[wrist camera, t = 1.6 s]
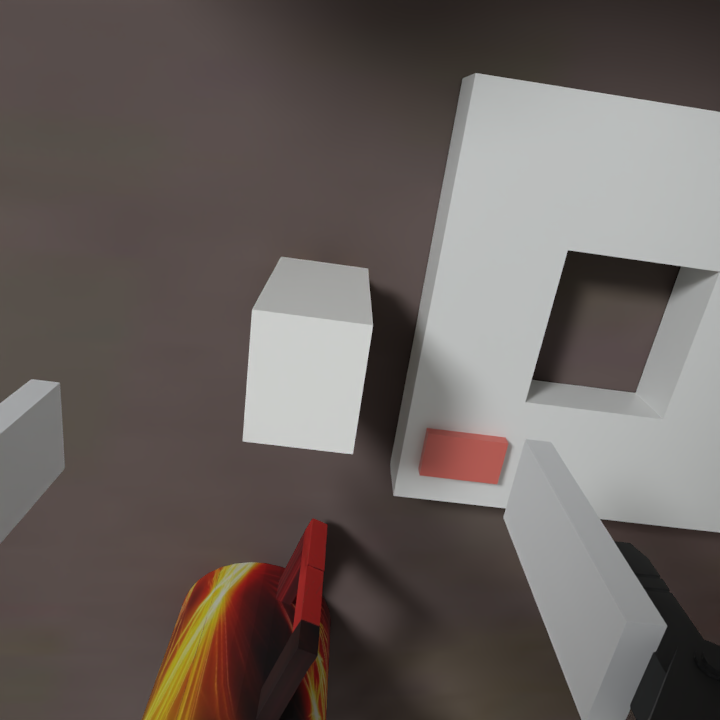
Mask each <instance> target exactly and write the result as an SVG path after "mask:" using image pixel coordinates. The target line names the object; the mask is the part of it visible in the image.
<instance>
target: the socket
mask: <svg viewBox="0 0 720 720" xmlns="http://www.w3.org/2000/svg"><path fill="white" fill-rule="evenodd" d="M568 250H570V251H577V252H584V253H591V254H598V255H605V256H612V257H620V258H627V259H634V260H641V261H648V262H655V263H662V264H669V265H676V266H681V268H680V271H679V273H678V276H677V279H676V282H675V284H674V287H673V290H672V293H671V296H670V298H669V301H668V304H667V307H666V310H665V312H664V315H663V318H662V321H661V324H660V326H659V329H658V332H657V335H656V338H655V340H654V343H653V346H652V349H651V351H650V354H649V357H648V360H647V363H646V365H645V368H644V371H643V374H642V377H641V379H640V382H639V385H638V388H637V391H636V393H632V392H624V391H616V390H608V389H600V388H592V387H585V386H577V385H569V384H561V383H553V382H545V381H537V380H532V377H533V373H534V370H535V366H536V362H537V359H538V355H539V352H540V348H541V345H542V341H543V337H544V334H545V330H546V327H547V323H548V320H549V316H550V312H551V309H552V305H553V302H554V298H555V294H556V291H557V287H558V284H559V280H560V277H561V273H562V269H563V266H564V262H565V259H566V255H567V251H568ZM525 439H529V440H537V441H546V442H551V443H552V444H553V446H554V447H555V449H556V451H557V452H558V454H559V455H560V457H561V458H562V460H563V462H564V463H565V465H566V466H567V468H568V470H569V471H570V473H571V474H572V476H573V477H574V479H575V481H576V482H577V484H578V485H579V487H580V489H581V490H582V492H583V493H584V495H585V496H586V498H587V500H588V501H589V503H590V504H591V506H592V507H593V509H594V511H595V512H596V514H597V515H598V517H599V519H604V520H613V521H622V522H631V523H640V524H649V525H658V526H666V527H675V528H684V529H693V530H702V531H711V532H720V112H716V111H710V110H704V109H698V108H691V107H685V106H679V105H673V104H666V103H660V102H654V101H648V100H641V99H635V98H629V97H623V96H616V95H610V94H604V93H597V92H591V91H585V90H579V89H572V88H566V87H560V86H554V85H547V84H541V83H535V82H529V81H522V80H516V79H510V78H504V77H497V76H491V75H485V74H479V73H475V74H472V75H470V76H467V77H465V78H463V79H462V84H461V89H460V95H459V100H458V105H457V111H456V116H455V121H454V127H453V132H452V137H451V143H450V148H449V153H448V158H447V164H446V169H445V174H444V180H443V185H442V190H441V196H440V201H439V206H438V212H437V217H436V222H435V228H434V233H433V238H432V244H431V249H430V254H429V260H428V265H427V270H426V276H425V281H424V286H423V291H422V297H421V302H420V307H419V313H418V318H417V323H416V329H415V334H414V339H413V345H412V350H411V355H410V361H409V366H408V371H407V377H406V382H405V387H404V393H403V398H402V403H401V409H400V414H399V419H398V424H397V430H396V435H395V440H394V446H393V451H392V456H391V462H390V469H391V478H392V488H393V496H400V497H409V498H418V499H427V500H436V501H445V502H454V503H462V504H471V505H480V506H489V507H498V508H506V506H507V503H508V499H509V496H510V492H511V488H512V485H513V481H514V478H515V474H516V471H517V467H518V464H519V460H520V456H521V453H522V449H523V446H524V442H525Z"/></svg>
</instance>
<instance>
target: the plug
mask: <svg viewBox="0 0 720 720" xmlns="http://www.w3.org/2000/svg"><path fill="white" fill-rule="evenodd" d="M372 329H373V318H372V307H371V296H370V285H369V274H368V269H367V268H360V267H353V266H345V265H338V264H331V263H323V262H316V261H309V260H301V259H294V258H287V257H281V258H280V260H279V261H278V263H277V265H276V267H275V269H274V271H273V272H272V274H271V276H270V278H269V280H268V282H267V283H266V285H265V287H264V289H263V291H262V293H261V294H260V296H259V298H258V300H257V302H256V303H255V305H254V307H253V309H252V319H251V333H250V347H249V361H248V374H247V388H246V402H245V416H244V429H243V441H244V442H253V443H261V444H270V445H278V446H287V447H295V448H304V449H313V450H321V451H330V452H338V453H347V454H353V450H354V443H355V437H356V431H357V424H358V418H359V412H360V405H361V399H362V393H363V386H364V380H365V374H366V367H367V361H368V355H369V348H370V342H371V336H372Z"/></svg>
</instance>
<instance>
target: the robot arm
mask: <svg viewBox="0 0 720 720" xmlns="http://www.w3.org/2000/svg"><path fill="white" fill-rule="evenodd" d="M64 469H65V462H64V445H63V427H62V409H61V392H60V383H58V382H50V381H41V380H33V379H31V380H30V381H29V382H27V383H26V384H25V385H23V386H22V387H21V388H19V389H18V390H17V391H16V392H14V393H13V394H12V395H10V396H9V397H8V398H6V399H5V400H4V401H3V402H1V403H0V544H1V542H2V541H3V540H4V539H5V538H6V536H7V535H8V534H9V533H10V532H11V531H12V529H13V528H14V527H15V526H16V525H17V524H18V522H19V521H20V520H21V519H22V518H23V517H24V515H25V514H26V513H27V512H28V511H29V510H30V508H31V507H32V506H33V505H34V504H35V503H36V501H37V500H38V499H39V498H40V497H41V496H42V494H43V493H44V492H45V491H46V490H47V489H48V487H49V486H50V485H51V484H52V483H53V482H54V480H55V479H56V478H57V477H58V476H59V475H60V473H61V472H62V471H63V470H64ZM503 518H504V521H505V523H506V526H507V528H508V531H509V533H510V536H511V539H512V541H513V544H514V546H515V549H516V552H517V554H518V557H519V559H520V562H521V565H522V567H523V570H524V572H525V575H526V578H527V580H528V583H529V585H530V588H531V591H532V593H533V596H534V598H535V601H536V603H537V606H538V609H539V611H540V614H541V616H542V619H543V622H544V624H545V627H546V629H547V632H548V635H549V637H550V640H551V642H552V645H553V648H554V650H555V653H556V655H557V658H558V661H559V663H560V666H561V668H562V671H563V673H564V676H565V679H566V681H567V684H568V686H569V689H570V692H571V694H572V697H573V699H574V702H575V705H576V707H577V710H578V712H579V715H580V718H581V720H626V718H627V716H628V713H629V711H630V709H631V710H632V712H633V714H634V716H635V718H636V720H720V646H718V645H716V644H714V643H711V642H709V641H706V640H704V639H703V638H702V636H701V635H700V633H699V632H698V630H697V629H696V628H695V626H694V625H693V623H692V622H691V620H690V619H689V617H688V616H687V614H686V613H685V612H684V610H683V609H682V607H681V606H680V604H679V603H678V601H677V600H676V598H675V597H674V596H673V594H672V593H670V592H669V588H668V587H667V585H666V584H665V582H664V581H663V580H662V579H660V575H659V574H658V572H657V571H656V569H655V568H654V566H653V565H652V564H651V562H650V561H649V559H648V558H647V557H646V556H644V555H643V554H642V553H641V552H640V551H639V550H637V549H636V548H635V547H634V546H633V545H631V544H630V543H624V542H615V541H613V539H612V538H611V536H610V534H609V533H608V531H607V530H606V528H605V526H604V525H603V523H602V522H601V520H600V519H599V517H598V515H597V514H596V512H595V511H594V509H593V507H592V506H591V504H590V503H589V501H588V500H587V498H586V496H585V495H584V493H583V492H582V490H581V489H580V487H579V485H578V484H577V482H576V481H575V479H574V477H573V476H572V474H571V473H570V471H569V470H568V468H567V466H566V465H565V463H564V462H563V460H562V458H561V457H560V455H559V454H558V452H557V451H556V449H555V447H554V446H553V444H552V443H551V442H546V441H537V440H529V439H525V442H524V446H523V449H522V453H521V456H520V460H519V464H518V467H517V471H516V474H515V478H514V481H513V485H512V488H511V492H510V496H509V499H508V503H507V506H506V510H505V513H504V517H503Z"/></svg>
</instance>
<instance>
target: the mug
mask: <svg viewBox="0 0 720 720" xmlns="http://www.w3.org/2000/svg"><path fill="white" fill-rule="evenodd" d="M326 539H327V524H325V523H323V522H321V521H318V520H316V519H312V520H311V522H310V523H309V525H308V526H307V528H306V530H305V532H304V534H303V536H302V538H301V539H300V541H299V543H298V545H297V547H296V549H295V551H294V553H293V555H292V557H291V559H290V561H289V562H288V564H287V566H286V568H283V567H280V566H276V565H271V564H267V563H254V562H249V563H237V564H232V565H228V566H224V567H221V568H219V569H217V570H214V571H212V572H210V573H208V574H207V575H205V576H204V577H203V578H201V579H200V580H198V581H197V582H196V584H195V585H194V586H193V587H192V588H191V589H190V591H189V592H188V594H187V596H186V598H185V600H184V603H183V605H182V608H181V611H180V614H179V617H178V619H177V622H176V625H175V628H174V631H173V633H172V636H171V639H170V642H169V645H168V647H167V650H166V653H165V656H164V659H163V662H162V664H161V667H160V670H159V673H158V676H157V678H156V681H155V684H154V687H153V690H152V692H151V695H150V698H149V701H148V704H147V707H146V709H145V712H144V715H143V718H142V720H326V709H327V688H328V667H329V646H330V625H331V619H330V613H329V608H328V606H327V604H326V601H325V599H324V597H323V596H322V587H323V572H324V569H325V554H326Z"/></svg>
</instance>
